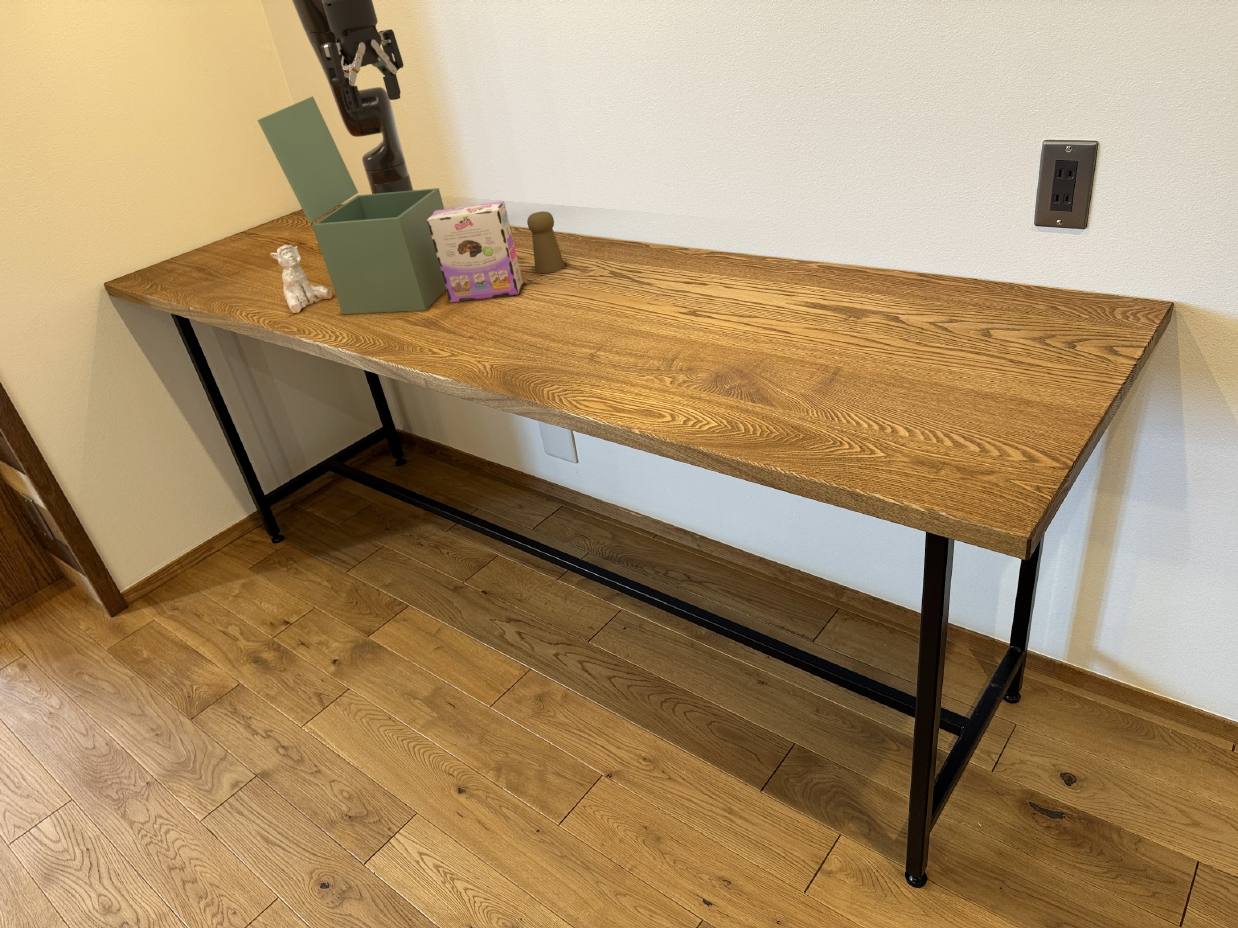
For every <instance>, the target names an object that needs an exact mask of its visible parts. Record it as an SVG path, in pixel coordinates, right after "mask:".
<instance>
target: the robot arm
mask: <svg viewBox="0 0 1238 928" xmlns="http://www.w3.org/2000/svg"><path fill="white" fill-rule="evenodd" d="M291 2H292V4H293V6H294V9H295V11H296V14H297V17H298V18H299V21H300V25H301V26H302V29H303V31H304V33H305V35H306V37H307V40H308V41H309V43H310V45H311V48H312V50H313V52H314V55H315V56H316V58H317V60H318V63H319V64H320V66H321V69H322V71H323V73H324V76H325V78H326V80H327V83H328V85H329V88H330V91H331V94H332V97H333V99H334V102H335V105H336V108H337V110H338V113H339V115H340V119H341V121H342V123H343V126H344V128H345V129H346V131H347V132H348V133H349V134H350V136H352V137H355V138H362V137H367V136H368V137H369V136H373V135H374V136H375V135H379V134H381V135H382V140H381V141H380V143H379V144H377V145H376V146H375V147H373V148H372V149H370V150H368V151H367V152H365V153H364V154H363V155H362V157H361V161H362V165H363V168H364V172H365V175H366V178H367V181H368V185H369V189H370V192H371V194H378V193H390V192H401V191H412V190H414V187H413V184H412V180H411V177H410V173H409V170H408V166H407V162H406V158H405V155H404V151H403V147H402V143H401V139H400V136H399V135H400V134H399V132H398V127H397V123H396V117H395V114H394V109H393V105H392V101H396V100H399V99H401V87H400V84H399V81H398V76H397V73H398V71H399V70H400V69H403V68H404V61H403V58H402V54H401V51H400V48H399V45H398V42H397V38H396V35H395V32H394V30H393V29H392V28H390V29H384V30H378V29H377V24H378V23H379V22H378V21H379V20H378V17H377V13H376V9H375V6H374V2H373V0H291ZM369 65H371V66H373V67H375V68H376V69H377V70H378V71H379V72H380V73H381V74H382V75H383V76H382V80H383V84H384V87H385V89H384V88H383V87H381V86H376V87H369V88H364V89H359V88H358V85H356V81H357V76H358V74H359V73H360V71H361V68H363V67H366V66H369Z"/></svg>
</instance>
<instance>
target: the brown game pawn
mask: <svg viewBox="0 0 1238 928" xmlns="http://www.w3.org/2000/svg"><path fill="white" fill-rule="evenodd" d="M526 223H527V228H528V230H529V231H530V232H531V235H532V247H533V248H532V249H533V261H534V262H533V263H534V271H535V272H536V273H538V274H550V273H555V272H558V271H560V270H562V269H563V268H565V262H564V257H563V255H562V253H561V250H560V246H559V244H558V241H557V238H556V235H555V232H554V229H553V228H554V226H555V219H554V216H553V215H552V213H550V212H549V211H546V210H545V211H537V212H533V213H531V214H529V216H528V217H527V221H526Z"/></svg>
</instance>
